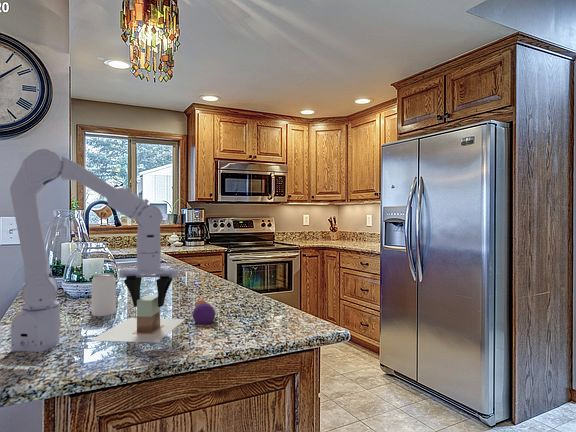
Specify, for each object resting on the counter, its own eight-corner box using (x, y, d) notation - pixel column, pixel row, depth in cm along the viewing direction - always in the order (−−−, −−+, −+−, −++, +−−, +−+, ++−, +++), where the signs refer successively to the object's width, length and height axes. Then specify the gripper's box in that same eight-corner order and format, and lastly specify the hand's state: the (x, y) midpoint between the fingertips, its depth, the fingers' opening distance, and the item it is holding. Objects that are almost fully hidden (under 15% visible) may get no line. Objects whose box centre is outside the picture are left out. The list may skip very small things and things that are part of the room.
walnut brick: (151, 332, 100) (151, 316, 100) (136, 332, 100) (136, 316, 100) (160, 326, 106) (160, 310, 106) (146, 325, 106) (146, 310, 106)
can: (106, 318, 115) (106, 276, 115) (86, 317, 117) (86, 275, 117) (120, 313, 122) (120, 273, 122) (101, 312, 123) (101, 272, 123)
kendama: (212, 297, 127) (217, 306, 108) (209, 316, 127) (213, 329, 107) (193, 294, 126) (195, 303, 107) (190, 313, 125) (190, 326, 106)
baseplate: (157, 344, 93) (157, 341, 93) (89, 343, 94) (89, 340, 94) (185, 321, 113) (185, 318, 113) (129, 320, 114) (129, 317, 114)
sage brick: (151, 316, 100) (151, 300, 100) (136, 316, 100) (136, 300, 100) (160, 310, 106) (160, 295, 106) (146, 310, 106) (146, 295, 106)
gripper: (113, 253, 99) (113, 309, 99) (171, 254, 98) (171, 310, 98) (126, 250, 106) (126, 302, 106) (180, 251, 105) (180, 303, 105)
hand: (148, 306), depth 103 cm, fingers open, 6 cm apart
